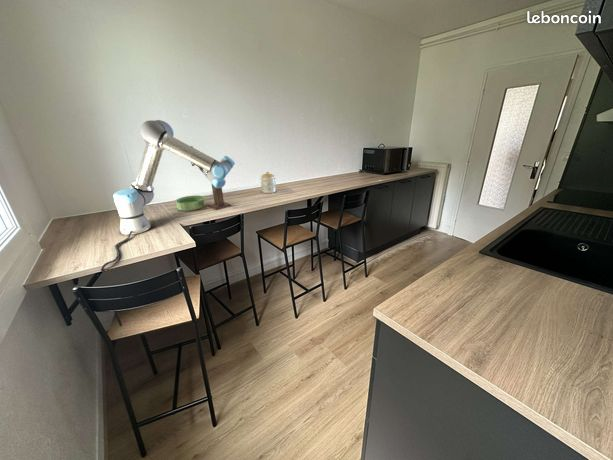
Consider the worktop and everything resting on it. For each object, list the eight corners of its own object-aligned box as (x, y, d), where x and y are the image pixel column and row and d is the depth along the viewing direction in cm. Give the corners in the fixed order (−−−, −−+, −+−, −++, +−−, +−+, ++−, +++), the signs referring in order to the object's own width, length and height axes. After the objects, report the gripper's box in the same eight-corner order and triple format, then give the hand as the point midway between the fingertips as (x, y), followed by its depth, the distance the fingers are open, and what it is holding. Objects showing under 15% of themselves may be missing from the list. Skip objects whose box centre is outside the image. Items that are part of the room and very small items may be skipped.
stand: (231, 205, 189) (225, 165, 177) (216, 209, 181) (210, 167, 169) (222, 202, 197) (216, 163, 184) (208, 206, 188) (201, 166, 176)
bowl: (207, 208, 184) (206, 200, 182) (178, 213, 176) (176, 204, 173) (203, 201, 200) (202, 194, 197) (176, 205, 191) (174, 197, 189)
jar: (273, 189, 234) (272, 170, 227) (278, 192, 223) (277, 172, 216) (259, 190, 229) (258, 171, 222) (263, 194, 218) (262, 173, 211)
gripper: (195, 176, 157) (176, 154, 164) (217, 172, 167) (199, 151, 175) (196, 166, 152) (177, 143, 159) (219, 163, 162) (200, 142, 170)
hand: (189, 148), depth 167 cm, fingers closed on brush, 2 cm apart
